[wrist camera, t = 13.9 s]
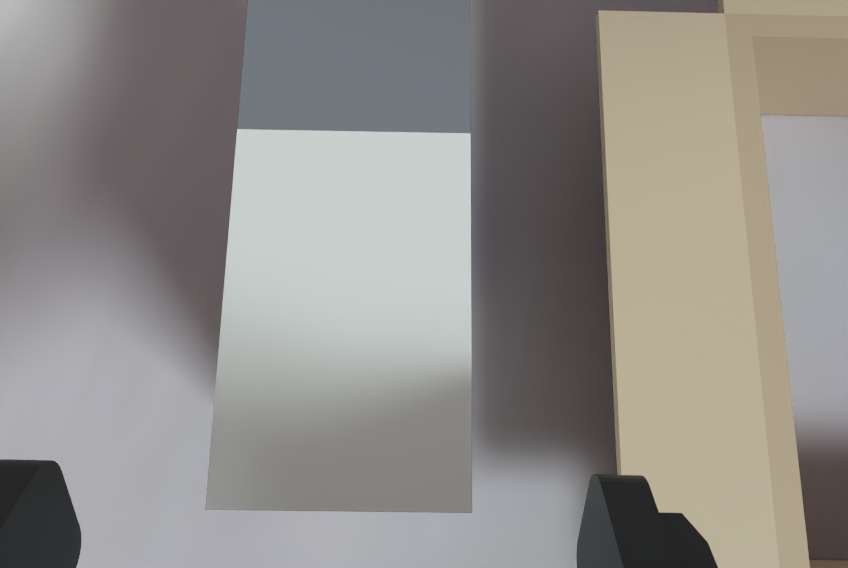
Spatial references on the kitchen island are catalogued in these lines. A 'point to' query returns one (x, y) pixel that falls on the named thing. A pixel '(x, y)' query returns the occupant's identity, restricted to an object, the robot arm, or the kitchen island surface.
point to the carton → (708, 259)
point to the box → (348, 263)
